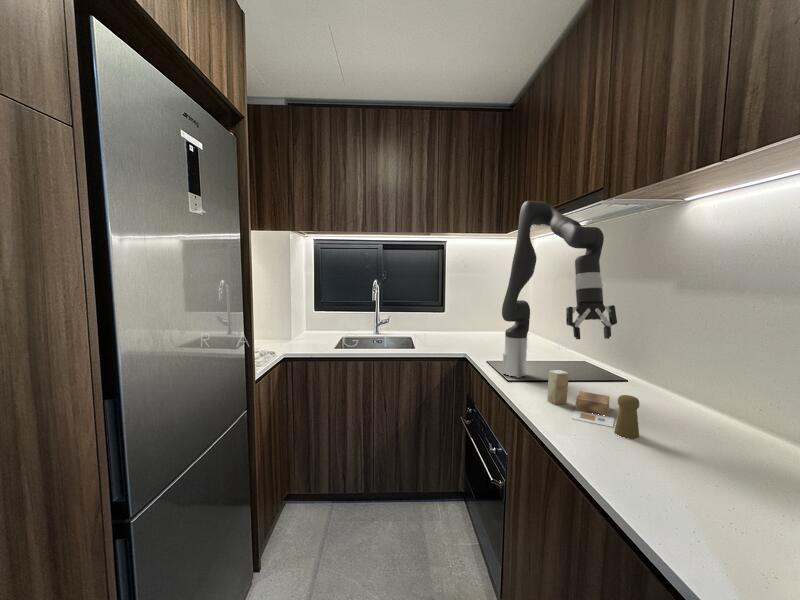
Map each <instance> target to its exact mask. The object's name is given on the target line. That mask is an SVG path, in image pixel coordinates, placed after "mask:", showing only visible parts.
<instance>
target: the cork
mask: <svg viewBox="0 0 800 600" xmlns="http://www.w3.org/2000/svg"><path fill="white" fill-rule="evenodd" d="M617 405H618V406H619V408H618V413H617V418H616V422H615V426H614V432H613V433H614V434H615V435H616V434H617V436H618V435H619V436H618V437H620V436H621V438H623V437H625V438H624V439H627V438H629V439H628V440H638V439H640V430H639V420H638V418H639V417H638V409H639V408H640V405H641V404H640V400H639V399H638V397H635V396H633V395H629V394H622V395H619V396H618V397H617Z"/></svg>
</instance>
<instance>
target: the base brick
mask: <svg viewBox="0 0 800 600" xmlns="http://www.w3.org/2000/svg"><path fill="white" fill-rule="evenodd" d="M575 400H576V401H575V410H577V411H582V412H587V413H593V414H599V415H605V416H608V414H609V410H610V395H607V394H606V395H605V394H600V393H593V392H587V391H581V390H579V392H578V394H577V395H576V399H575ZM608 409H609V410H608Z"/></svg>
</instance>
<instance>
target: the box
mask: <svg viewBox="0 0 800 600" xmlns="http://www.w3.org/2000/svg"><path fill="white" fill-rule="evenodd" d="M568 386H569V372H568V371H564V370H562V369H556V370H555V369H553V370H548V382H547V398H546V399H547V400H546V401H547V402H549V403H550V404H553V405H555V406H556V405H557V406H558V405H567V404H568V392H569V391H568V389H569V387H568Z"/></svg>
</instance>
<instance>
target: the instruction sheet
mask: <svg viewBox="0 0 800 600" xmlns="http://www.w3.org/2000/svg"><path fill="white" fill-rule="evenodd" d="M571 420H575V421H580V422H584V423H589V424H594V425H599V426H603V427H610V428H614V425H615V424H614V423H615V417H613V416H608V415H607V416H603V415H598V414H592V413H587V412H582V411H577V410H576V409H575V411H574V412H573V415H572V417H571Z"/></svg>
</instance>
